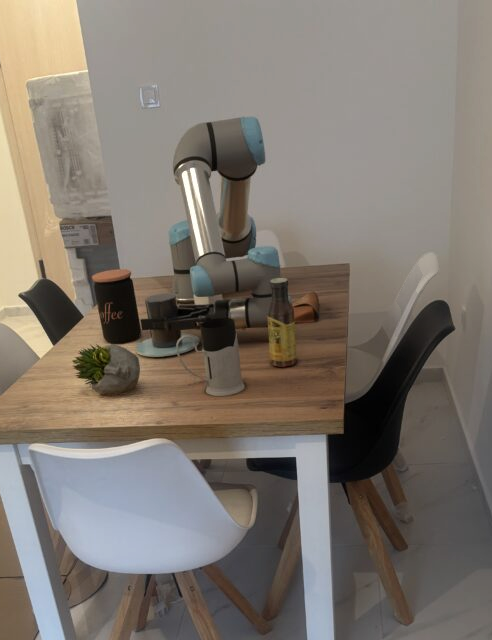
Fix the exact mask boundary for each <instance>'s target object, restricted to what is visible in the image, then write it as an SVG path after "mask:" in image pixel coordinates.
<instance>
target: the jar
mask: <svg viewBox="0 0 492 640" xmlns="http://www.w3.org/2000/svg"><path fill="white" fill-rule="evenodd" d="M193 294H194V293H193ZM216 300H224V299H223V294H221V295H215V296H212V297H211V296H210V297H196V296H195V295H194V305H206V304H214V303H215V301H216Z"/></svg>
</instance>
